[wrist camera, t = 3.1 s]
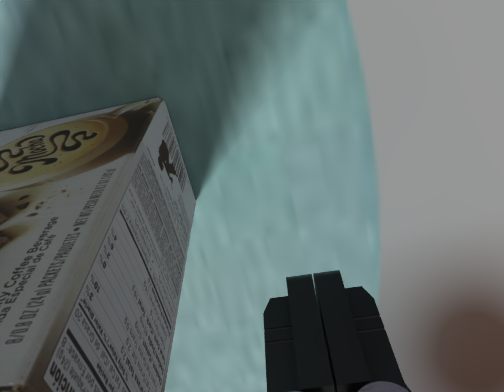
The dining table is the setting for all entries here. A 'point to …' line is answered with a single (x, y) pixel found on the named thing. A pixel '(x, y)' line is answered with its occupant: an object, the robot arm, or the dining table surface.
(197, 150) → the dining table surface
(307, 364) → the robot arm
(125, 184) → the coffee box
